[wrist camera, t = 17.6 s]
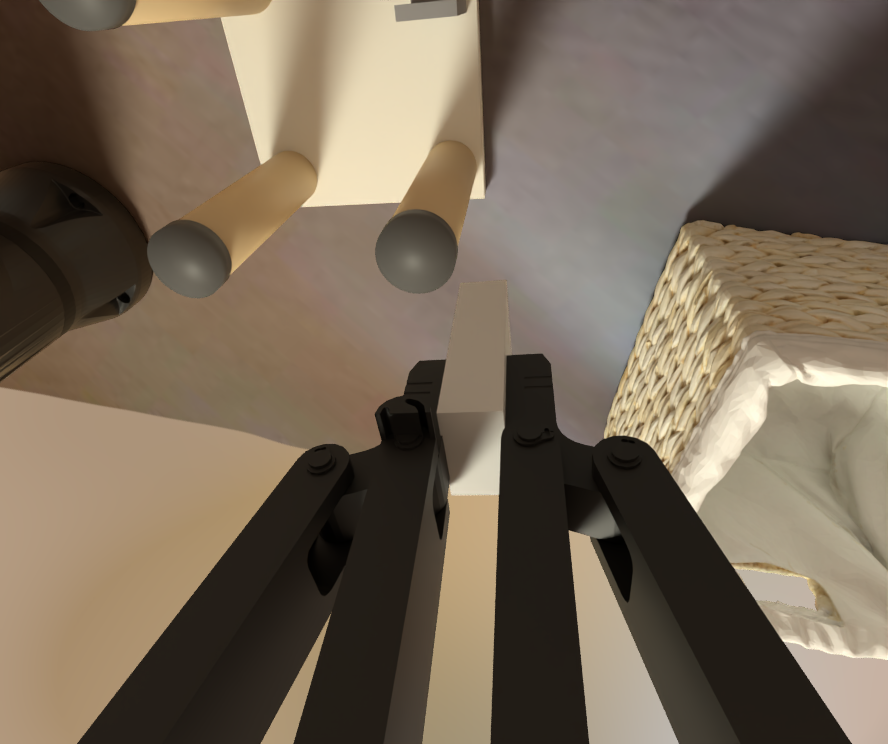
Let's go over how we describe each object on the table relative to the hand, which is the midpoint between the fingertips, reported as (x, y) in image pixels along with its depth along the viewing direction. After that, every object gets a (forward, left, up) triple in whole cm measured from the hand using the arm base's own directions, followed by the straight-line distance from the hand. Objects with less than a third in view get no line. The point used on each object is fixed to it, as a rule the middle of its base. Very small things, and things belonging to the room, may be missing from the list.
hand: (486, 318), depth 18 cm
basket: (+24, -22, -29) cm, 44 cm away
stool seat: (-11, +5, -29) cm, 31 cm away
